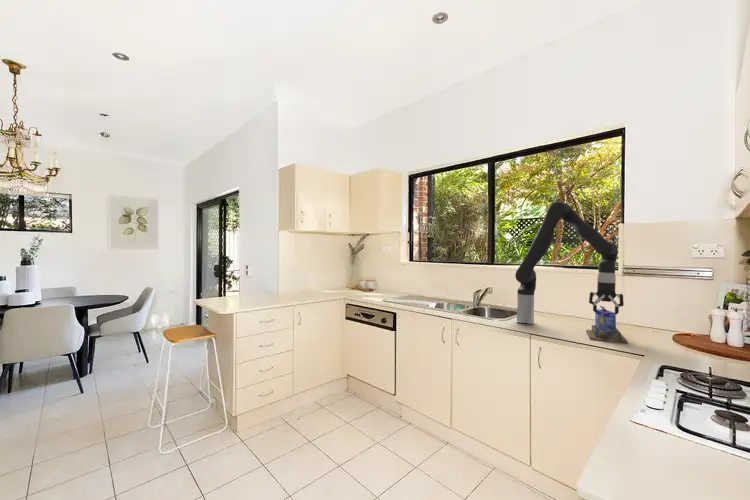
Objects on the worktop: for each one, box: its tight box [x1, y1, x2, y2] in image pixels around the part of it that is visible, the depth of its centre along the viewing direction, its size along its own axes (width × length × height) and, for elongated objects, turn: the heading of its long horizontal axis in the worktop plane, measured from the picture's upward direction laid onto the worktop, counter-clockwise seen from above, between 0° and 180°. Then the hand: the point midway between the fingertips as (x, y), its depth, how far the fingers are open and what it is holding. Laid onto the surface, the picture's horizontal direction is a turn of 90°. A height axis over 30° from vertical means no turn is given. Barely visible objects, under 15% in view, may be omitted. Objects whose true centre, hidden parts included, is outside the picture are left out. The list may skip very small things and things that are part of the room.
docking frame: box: [585, 324, 629, 345], centre depth 170 cm, size 15×18×4 cm
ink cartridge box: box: [594, 305, 617, 333], centre depth 170 cm, size 10×6×14 cm, turn 171°
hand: (605, 313), depth 170 cm, fingers open, 8 cm apart
